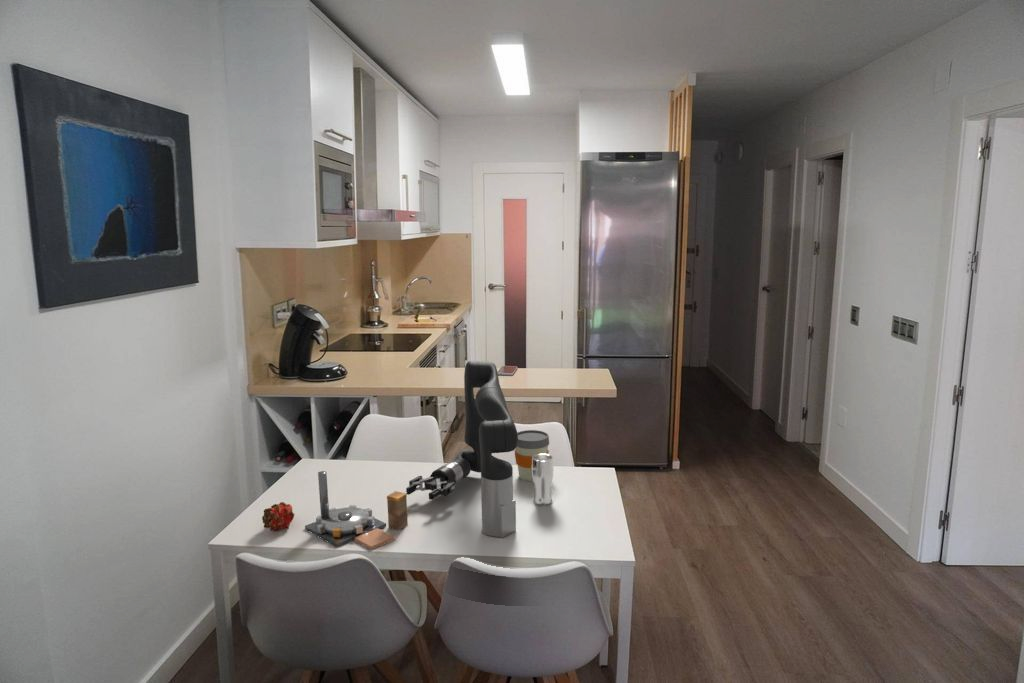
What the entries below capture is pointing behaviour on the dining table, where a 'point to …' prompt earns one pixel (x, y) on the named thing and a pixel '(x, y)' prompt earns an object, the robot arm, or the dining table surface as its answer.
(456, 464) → the robot arm
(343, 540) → the sprocket base
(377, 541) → the salmon brown square slab
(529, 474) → the reusable coffee cup
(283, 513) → the dragon fruit
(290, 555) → the dining table surface
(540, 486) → the silver metal cylinder
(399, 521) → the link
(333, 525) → the sprocket
